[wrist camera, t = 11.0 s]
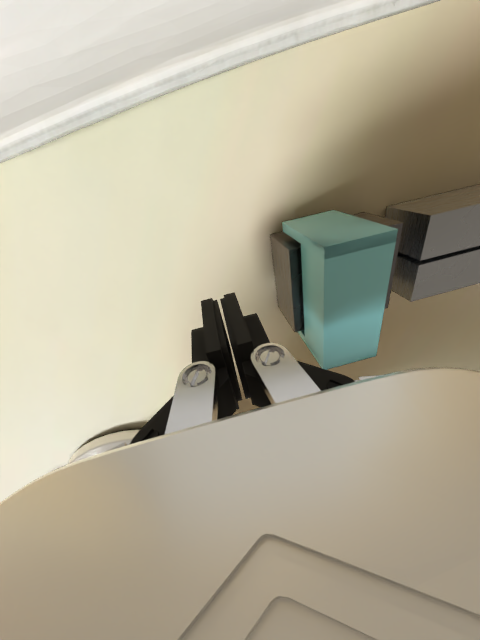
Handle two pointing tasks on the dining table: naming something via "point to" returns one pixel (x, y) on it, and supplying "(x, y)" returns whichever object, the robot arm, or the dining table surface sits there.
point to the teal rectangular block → (343, 284)
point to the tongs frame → (412, 239)
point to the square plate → (142, 52)
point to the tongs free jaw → (436, 273)
